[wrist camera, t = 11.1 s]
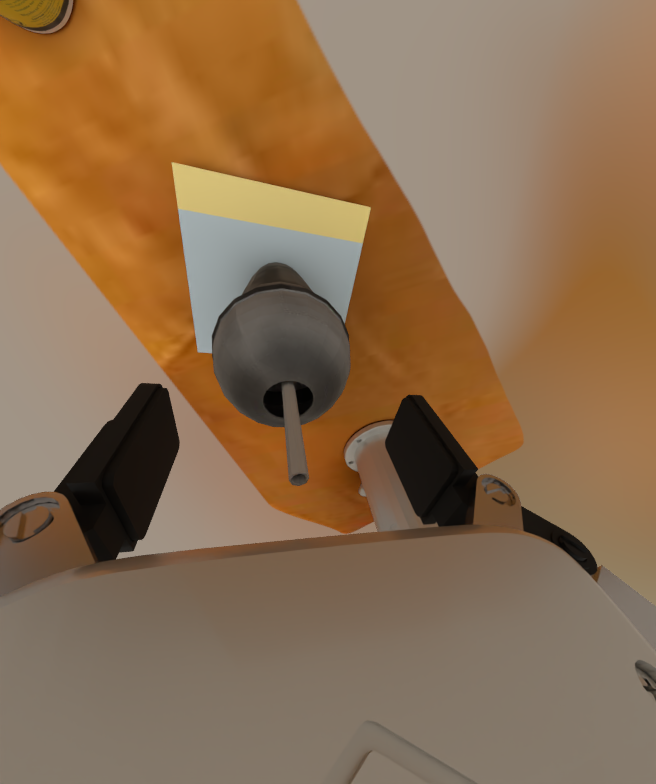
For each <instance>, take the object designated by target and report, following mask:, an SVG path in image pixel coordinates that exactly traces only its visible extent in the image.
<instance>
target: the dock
mask: <svg viewBox="0 0 656 784" xmlns="http://www.w3.org/2000/svg"><path fill="white" fill-rule="evenodd" d="M172 169H173V176H174V183H175V190H176V197H177V205H178V212H179V219H180V226H181V234H182V241H183V248H184V255H185V262H186V270H187V277H188V284H189V291H190V299H191V306H192V313H193V320H194V327H195V335H196V342H197V349H198V352H203V353H212V334H213V331H214V328H215V325H216V323H217V320H218V317H219V315H220V314H221V313H222V312H223V311H224V310H225V309H226V307H227V306H228V305H229V304H230V303H231V302H232V301H233V300H234V299H235V298H237V297H239V296H241V295H242V293H243V292H244V290H245V288H246V286H247V285H248V283H249V281H250V280H251V278H252V276H253V275H254V274H255V273H256V272H257V271H258V270H259V269H260V267H262V266H264V265H266V264H268V263H274V262H278V263H283V264H286V265H288V266H290V267H291V268H293V269H294V270H295V271H296V272H297V273H298V274H299V275H300V276H301V277H302V278H303V280H304V281H305V282H306V283H307V285H308V286H309V287H310V289H311V290H312V291H313V292H314V293H315V294H317V295H319V296H321V297H323V298H324V299H326V300H327V301H328V302H329V303H330V304H331V305H332V306H333V307H334V308H335V310H336V311H337V312H338V313H339V314H340V315H341V317H342V319H343V322H344V324H345V320H346V316H347V311H348V307H349V302H350V298H351V293H352V289H353V285H354V280H355V276H356V271H357V267H358V262H359V258H360V254H361V249H362V245H363V240H364V236H365V231H366V227H367V223H368V218H369V214H370V209H371V207H367V206H362V205H358V204H354V203H349V202H345V201H340V200H336V199H332V198H327V197H323V196H318V195H314V194H310V193H305V192H301V191H296V190H292V189H288V188H283V187H279V186H274V185H270V184H266V183H261V182H257V181H252V180H248V179H244V178H239V177H235V176H230V175H226V174H222V173H217V172H213V171H208V170H204V169H200V168H195V167H191V166H186V165H182V164H178V163H173V162H172Z"/></svg>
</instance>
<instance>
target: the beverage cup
mask: <svg viewBox="0 0 656 784" xmlns="http://www.w3.org/2000/svg"><path fill="white" fill-rule="evenodd" d="M212 357H213V366H214V373H215V375H216V378H217V380H218V382H219V384H220V387H221V389H222V391H223V393H224V395H225V397H226V398H227V399H228V400H229V401H230V402H231V403H232V404H233V405H234V406H235V407H236V409H237V410H238V411H239V412H240V413H242V414H244V415H246V416H247V417H249V418H251V419H253V420H254V421H256V422H258V423H261V424H265V425H269V426H272V427H285V435H286V448H287V460H288V473H289V481H290V482H291V484H292V485H297V486H300V485H302V484H305V483H306V482H307V481H308V479H309V475H308V469H307V462H306V456H305V450H304V443H303V437H302V430H301V425H303V424H306V423H308V422H310V421H312V420H315V419H317V418H318V417H320V416H321V415H322V414H324V413H325V412H326V411H328V410H329V409H330V408H331V407H332V406H333V405H334V403H335V402H336V401H337V399H338V398H339V397H340V395H341V394H342V392H343V390H344V388H345V385H346V382H347V379H348V375H349V372H350V345H349V334H348V332H347V329H346V327H345V324H344V322H343V319H342V317H341V315H340V314H339V313H338V312H337V311H336V310H335V308H334V307H333V306H332V305H331V304H330V303H329V302H328V301H327V300H326V299H324V298H323V297H321V296H319V295H317V294H315V293H314V292H313V291H312V290H311V289H310V287H309V286H308V285H307V283H306V282H305V281H304V280H303V278H302V277H301V276H300V275H299V274H298V273H297V272H296V271H295V270H294V269H293V268H291V267H290V266H288V265H286V264H283V263H278V262H274V263H268V264H266V265H264V266H262V267H260V269H259V270H258V271H257V272H256V273H255V274H254V275H253V276H252V278H251V280H250V281H249V283H248V285H247V286H246V288H245V290H244V292H243V293H242V295H241V296H239V297H237V298H235V299H234V300H233V301H232V302H231V303H230V304H229V305H228V306H227V307H226V309H225V310H224V311H223V312H222V313H221V314H220V315H219V317H218V320H217V323H216V325H215V328H214V331H213V334H212Z"/></svg>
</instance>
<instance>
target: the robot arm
mask: <svg viewBox="0 0 656 784" xmlns="http://www.w3.org/2000/svg"><path fill="white" fill-rule="evenodd" d="M178 450H179V437H178V433H177V428H176V423H175V419H174V415H173V410H172V406H171V401H170V397H169V392H168V390H167V388H163V387H162V385H161V384H149V383H141V384H140V385H139V386H138V387H137V388H136V390H135V391H134V392H133V394H132V395H131V397H130V398H129V399H128V400H127V402H126V403H125V405H124V406H123V407H122V409H121V410H120V411H119V413H118V414H117V415H116V417H115V418H114V419H113V420H111V421H108V422H107V423H106V424H105V425H104V426H103V428H102V429H101V430H100V432H99V433H98V434H97V436H96V437H95V438H94V440H93V441H92V442H91V444H90V445H89V446H88V447H87V449H86V450H85V452H84V453H83V454H82V455H81V457H80V458H79V459H78V461H77V462H76V463H75V465H74V466H73V467H72V468H71V470H70V471H69V473H68V474H67V475H66V476H65V478H64V479H63V480H62V482H61V483H60V484H59V486H58V487H57V488H56V489H55V491H54V492H41V493H36V494H31V495H29V496H26V497H23V498H20V499H18V500H16V501H14V502H12V503H10V504H8V505H6V506H5V507H3V508H2V509H1V510H0V784H656V606H654V605H653V604H651V602H649V601H648V600H647V599H645V598H644V597H643V596H641V595H640V594H639V593H638V592H636V591H635V590H634V589H632V588H631V587H630V586H628V585H627V584H626V583H625V582H623V581H622V580H621V579H619V578H618V577H617V576H615V575H614V574H613V573H611V572H610V571H609V570H608V569H606V568H605V567H603V566H602V565H601V566H600V567H597V564H596V561H595V559H594V557H593V556H592V554H591V553H590V551H589V550H588V549H587V548H586V547H585V545H583V543H582V542H580V541H579V540H578V539H577V538H575V537H574V536H572V535H571V534H570V533H568V532H566V531H564V530H563V529H561V528H559V527H557V526H556V525H554V524H552V523H550V522H548V521H547V520H545V519H543V518H542V517H540V516H538V515H536V514H534V513H533V512H531V511H529V510H527V509H526V508H524V507H522V506H521V502H520V498H519V496H518V494H517V493H516V491H515V490H514V489H513V488H512V487H511V486H510V485H509V484H508V483H506V482H505V481H504V480H502V479H500V478H498V477H496V476H493V475H490V474H483V475H480V476H479V477H478V476H477V474H476V473H475V472H476V471H477V470H478V468H477V467H476V466H475V464H474V463H473V462H472V460H471V459H470V458H469V456H468V455H467V454H466V452H465V451H464V450H463V449H462V447H461V446H460V445H459V443H458V442H457V441H456V439H455V438H454V437H453V435H452V434H451V433H450V431H449V430H448V429H447V428H446V426H445V425H444V424H443V422H442V421H441V420H440V418H439V417H438V416H437V414H436V413H435V412H434V411H433V409H432V408H431V407H430V405H429V404H428V403H427V401H426V400H425V399H424V397H423V396H421V395H408V396H407V397H406V398H404V399H403V400H402V402H401V404H400V407H399V409H398V411H397V414H396V416H395V418H394V421H382V422H377V423H374V424H371V425H369V426H367V427H365V428H363V429H361V430H360V431H358V432H357V433H356V434H354V435H353V436H352V437H351V438H350V440H349V441H348V442H347V444H346V446H345V449H344V458H345V461H346V463H347V465H348V466H349V467H350V468H351V469H352V470H354V471H357V472H359V475H360V478H361V482H362V483H361V485H360V487H359V490H358V492H359V494H360V495H361V496H366V497H367V500H368V503H369V506H370V509H371V512H372V515H373V519H374V522H375V525H376V528H377V531H378V532H371V533H360V534H349V535H338V536H327V537H317V538H306V539H295V540H285V541H275V542H265V543H255V544H244V545H234V546H224V547H214V548H204V549H195V550H185V551H177V552H168V553H160V554H151V555H142V556H135V557H128V558H122V559H116V558H117V555H118V553H119V552H130V551H134V548H135V546H136V543H137V541H138V540H142V539H143V538H144V537H145V535H146V532H147V530H148V527H149V525H150V522H151V520H152V517H153V515H154V512H155V509H156V507H157V504H158V502H159V499H160V496H161V494H162V491H163V489H164V486H165V483H166V481H167V478H168V476H169V473H170V471H171V468H172V465H173V463H174V460H175V457H176V455H177V453H178Z"/></svg>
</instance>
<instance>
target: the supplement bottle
mask: <svg viewBox="0 0 656 784" xmlns="http://www.w3.org/2000/svg"><path fill="white" fill-rule="evenodd" d="M72 6H73V0H0V16H2V17H3V18H5V19H7V20H9V21H10V22H12V23H14V24H16V25H18V26H20V27H22V28H24V29H26V30H29V31H32V32H36V33H43V34H45V33H52V32H55V31H57V30H59V29H61V28H62V27H63V26H64V25H65V24H66V22H67V21H68V19H69V17H70V14H71V11H72Z"/></svg>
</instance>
